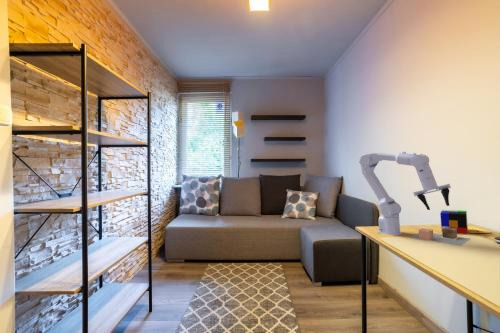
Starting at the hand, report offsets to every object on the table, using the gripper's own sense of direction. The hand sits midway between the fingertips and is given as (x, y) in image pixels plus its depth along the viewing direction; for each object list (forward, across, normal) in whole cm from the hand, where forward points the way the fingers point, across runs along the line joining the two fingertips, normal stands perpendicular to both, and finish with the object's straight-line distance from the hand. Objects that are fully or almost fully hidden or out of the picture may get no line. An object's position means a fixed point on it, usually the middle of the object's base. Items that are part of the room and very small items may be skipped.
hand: (438, 207), depth 122 cm
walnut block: (+15, +1, +8) cm, 17 cm away
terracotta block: (+13, -8, +5) cm, 16 cm away
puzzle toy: (+15, +6, +22) cm, 27 cm away
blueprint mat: (+14, -3, +6) cm, 16 cm away
